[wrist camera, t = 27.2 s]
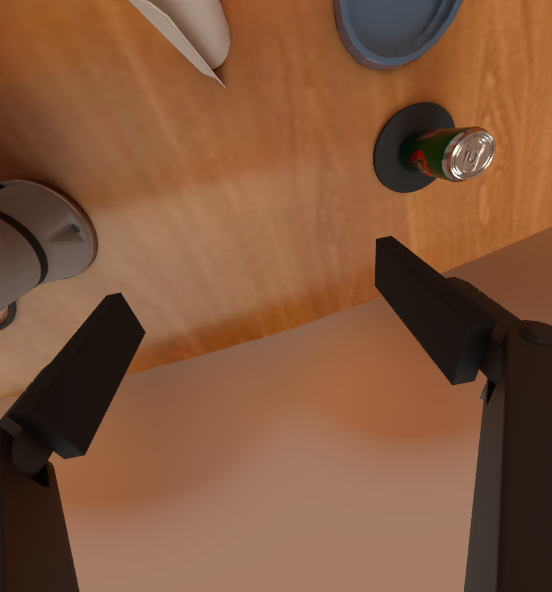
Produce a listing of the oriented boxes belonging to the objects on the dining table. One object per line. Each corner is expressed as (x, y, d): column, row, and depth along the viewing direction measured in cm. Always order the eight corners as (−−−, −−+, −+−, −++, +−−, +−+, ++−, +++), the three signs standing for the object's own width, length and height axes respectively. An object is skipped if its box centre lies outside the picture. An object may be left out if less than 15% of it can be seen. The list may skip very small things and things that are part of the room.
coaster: (407, 206, 41) (409, 207, 41) (357, 161, 38) (358, 161, 37) (468, 139, 37) (472, 139, 36) (417, 81, 33) (421, 80, 33)
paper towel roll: (179, -8, 29) (24, -266, 10) (234, 10, 30) (181, -199, 11) (176, 75, 32) (58, -8, 14) (226, 89, 33) (176, 27, 15)
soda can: (438, 129, 35) (508, 125, 25) (427, 170, 38) (487, 183, 28) (401, 130, 35) (456, 126, 25) (393, 171, 38) (440, 183, 28)
